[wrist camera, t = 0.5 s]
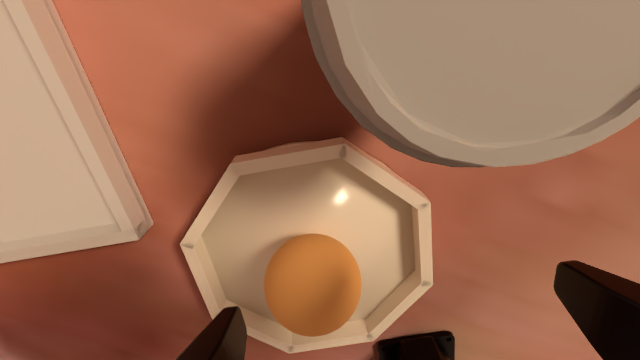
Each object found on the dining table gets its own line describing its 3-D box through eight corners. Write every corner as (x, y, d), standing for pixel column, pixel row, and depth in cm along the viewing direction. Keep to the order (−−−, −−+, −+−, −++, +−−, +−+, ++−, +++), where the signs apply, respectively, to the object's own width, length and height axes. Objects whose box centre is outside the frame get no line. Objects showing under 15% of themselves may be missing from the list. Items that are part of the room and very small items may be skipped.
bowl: (424, 309, 25) (434, 331, 23) (236, 337, 26) (230, 362, 24) (415, 120, 19) (428, 128, 17) (167, 164, 19) (151, 177, 17)
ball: (359, 278, 23) (375, 352, 17) (280, 291, 23) (271, 367, 17) (348, 209, 20) (363, 268, 15) (260, 223, 21) (243, 287, 15)
